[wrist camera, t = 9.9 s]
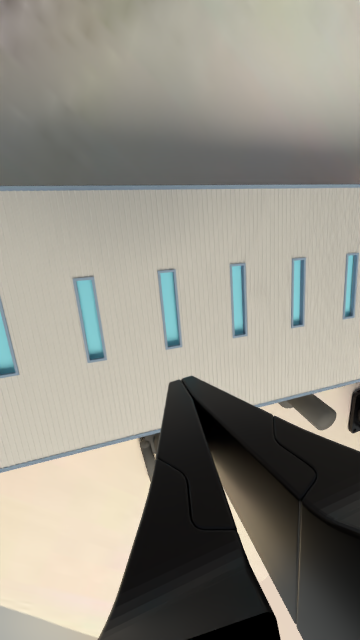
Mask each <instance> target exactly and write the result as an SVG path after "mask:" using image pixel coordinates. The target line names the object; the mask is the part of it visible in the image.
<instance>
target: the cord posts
mask: <svg viewBox="0 0 360 640" xmlns="http://www.w3.org/2000/svg"><path fill="white" fill-rule="evenodd" d="M278 403H279V404H280V405H281V406H282V407H284V408H292V407H294V408H295V409H296V410H297V411H298V412H299V413H300V414H301V415H303V416H304V417H305V418H306V419H307V420H308V421H309V422H310V423H311V424H312V425H314V426H315V427H316V428H317V429H318V430H325V429H327V428H329V427H330V426H331V425H332V424H333V423H334V421H335V419H336V412H335V411H334V410H333V409H332V408H331V407H329V406H328V405H327V404H325V403H324V402H323V401H321V400H320V399H319V398H317V397H316V396H315V395H313V394H310V395H306V396H302V397H298V398H294V399H290V400H286V401H282V402H278ZM159 436H160V432H159V433H155V434H152V435H148V436H144V439H142V440H141V442H140V447H141V450H142V454H143V457H144V461H145V464H146V468H147V471H148V474H149V478H150V481H151V479H152V474H153V469H154V464H155V458H154V455H153V453H155V454H156V453H157V447H158V442H159Z"/></svg>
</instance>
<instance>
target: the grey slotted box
mask: <svg viewBox="0 0 360 640" xmlns="http://www.w3.org/2000/svg"><path fill="white" fill-rule="evenodd" d="M188 376H194V377H196V378H198V379H200V380H202V381H205V382H207V383H209V384H211V385H213V386H215V387H217V388H219V389H221V390H223V391H225V392H227V393H229V394H231V395H233V396H235V397H237V398H239V399H241V400H244V401H246V402H248V403H250V404H252V405H254V406H256V407H262V406H266V405H270V404H274V403H278V402H282V401H286V400H290V399H294V398H298V397H302V396H306V395H310V394H314V393H317V392H321V391H325V390H329V389H333V388H337V387H341V386H345V385H349V384H353V383H357V382H360V184H320V185H114V186H0V473H1V472H5V471H9V470H13V469H17V468H21V467H25V466H29V465H33V464H37V463H41V462H45V461H49V460H53V459H57V458H61V457H65V456H69V455H73V454H76V453H80V452H84V451H88V450H92V449H96V448H100V447H104V446H108V445H112V444H116V443H120V442H124V441H128V440H132V439H136V438H140V437H144V436H148V435H152V434H155V433H159V432H160V430H161V425H162V419H163V413H164V408H165V402H166V396H167V391H168V385H169V383H170V382H172V381H175V380H178V379H180V380H181V379H182V378H185V377H188Z"/></svg>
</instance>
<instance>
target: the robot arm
mask: <svg viewBox="0 0 360 640" xmlns="http://www.w3.org/2000/svg"><path fill="white" fill-rule="evenodd" d="M349 431H350V432H352V433H356V432H358V431H360V391H359V392H356V393H355V394H354V395H353V401H352V409H351V417H350V425H349ZM223 488H224V489H225V491H226V493H227V495H228V497H229V499H230V501H231V503H232V505H233V507H234V509H235V510H236V512H237V514H238V516H239V518H240V520H241V522H242V524H243V526H244V528H245V529H246V531H247V533H248V535H249V537H250V539H251V541H252V543H253V545H254V547H255V549H256V550H257V552H258V554H259V556H260V558H261V560H262V562H263V564H264V566H265V568H266V569H267V571H268V573H269V575H270V577H271V579H272V581H273V583H274V584H275V586H276V589H277V590H278V592H279V594H280V596H281V598H282V600H283V602H284V604H285V605H286V608H287V609H288V611H289V613H290V615H291V617H292V619H293V621H294V623H295V624H297V629H298V631H299V632H300V634H301V636H302V638H303V640H360V451H357V450H355V449H352V448H349V447H347V446H344V445H342V444H339V443H337V442H334V441H331V440H329V439H326V438H324V437H321V436H319V435H316V434H314V433H312V432H309V431H307V430H304V429H302V428H300V427H298V426H296V425H293V424H291V423H289V422H287V421H285V420H283V419H281V418H279V417H277V416H273V415H272V414H270V413H268V412H266V411H264V410H262V409H260V408H258V407H256V406H254V405H252V404H250V403H248V402H246V401H244V400H241V399H239V398H237V397H235V396H233V395H231V394H229V393H227V392H225V391H223V390H221V389H219V388H217V387H215V386H213V385H211V384H209V383H207V382H205V381H202V380H200V379H198V378H196V377H194V376H188V377H185V378H182V379H181V380H180V379H178V380H175V381H172V382H170V383H169V385H168V391H167V396H166V402H165V408H164V413H163V419H162V425H161V430H160V436H159V442H158V447H157V453H156V460H155V464H154V469H153V474H152V479H151V484H150V488H149V493H148V496H147V500H146V504H145V507H144V511H143V514H142V518H141V521H140V524H139V527H138V530H137V534H136V537H135V540H134V543H133V546H132V550H131V553H130V556H129V559H128V562H127V566H126V569H125V572H124V575H123V578H122V582H121V585H120V588H119V591H118V594H117V597H116V600H115V602H114V605H113V608H112V610H111V613H110V615H109V617H108V620H107V622H106V624H105V626H104V628H103V630H102V632H101V634H100V636H99V638H98V640H280V635H279V630H278V624H277V620H276V617H275V615H274V613H273V611H272V609H271V607H270V605H269V603H268V601H267V599H266V597H265V595H264V593H263V591H262V589H261V587H260V585H259V583H258V581H257V578H256V576H255V574H254V572H253V570H252V568H251V566H250V564H249V561H248V559H247V556H246V554H245V551H244V548H243V546H242V543H241V540H240V537H239V534H238V532H237V528H236V525H235V522H234V519H233V516H232V513H231V510H230V507H229V504H228V501H227V498H226V495H225V492H224V489H223Z"/></svg>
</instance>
